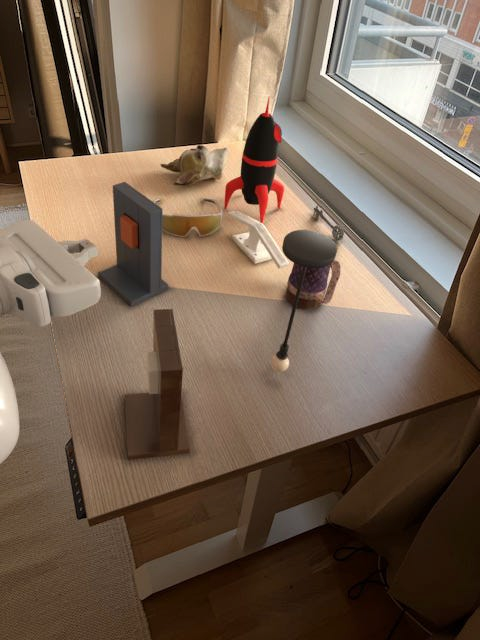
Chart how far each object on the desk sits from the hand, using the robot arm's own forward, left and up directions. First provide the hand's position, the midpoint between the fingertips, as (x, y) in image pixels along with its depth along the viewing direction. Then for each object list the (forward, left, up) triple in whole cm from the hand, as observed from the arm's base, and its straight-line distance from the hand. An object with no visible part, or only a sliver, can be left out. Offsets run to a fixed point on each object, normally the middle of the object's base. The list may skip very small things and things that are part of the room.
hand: (92, 246), depth 81 cm
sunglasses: (+18, +25, -11) cm, 33 cm away
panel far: (+6, +4, -11) cm, 13 cm away
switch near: (+8, -27, -2) cm, 28 cm away
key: (+48, +21, -11) cm, 54 cm away
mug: (+37, -3, -11) cm, 39 cm away
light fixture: (+27, -20, -11) cm, 35 cm away
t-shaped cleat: (+30, +14, -11) cm, 35 cm away
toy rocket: (+33, +29, -11) cm, 46 cm away
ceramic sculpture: (+22, +42, -11) cm, 49 cm away
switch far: (+6, +4, -2) cm, 7 cm away
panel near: (+8, -27, -11) cm, 30 cm away
